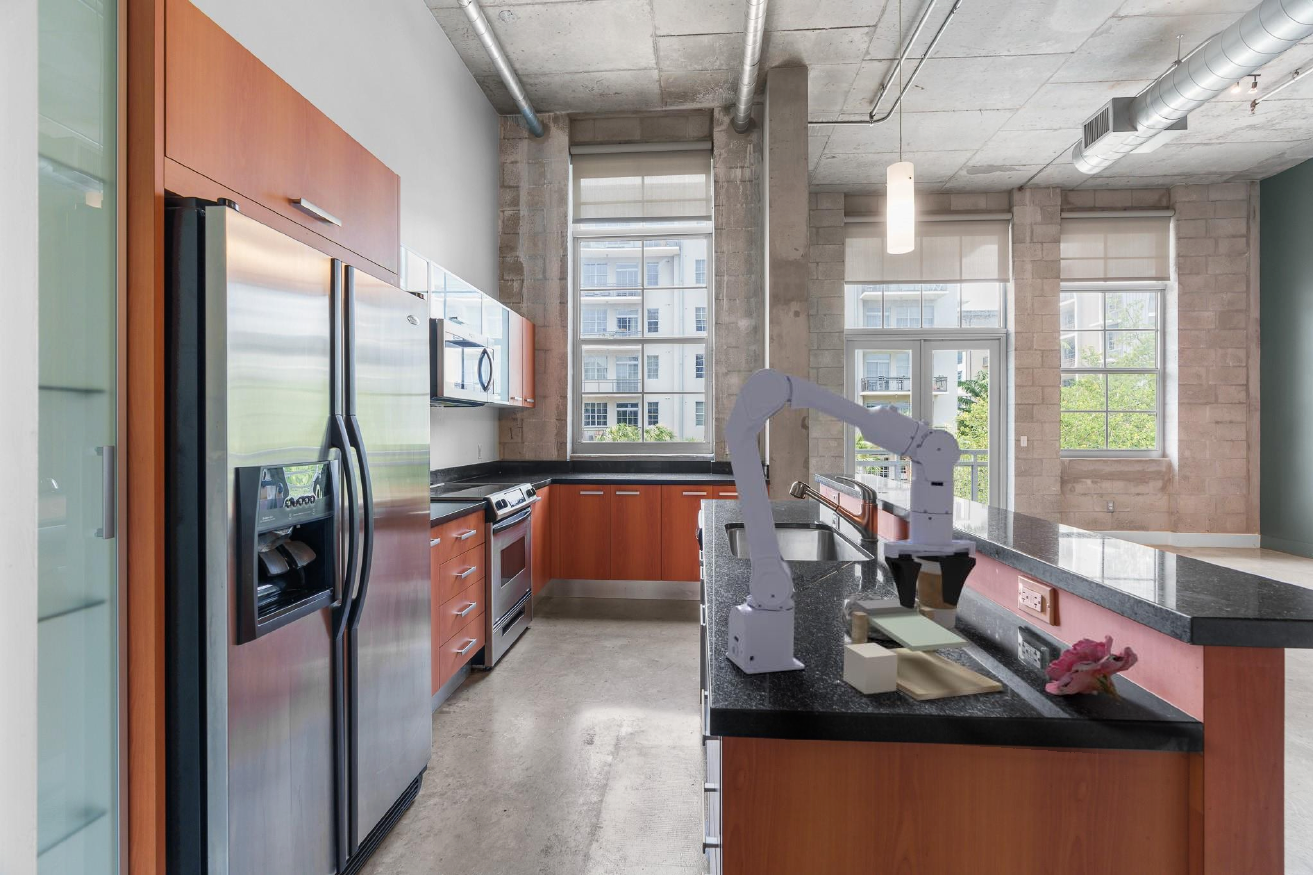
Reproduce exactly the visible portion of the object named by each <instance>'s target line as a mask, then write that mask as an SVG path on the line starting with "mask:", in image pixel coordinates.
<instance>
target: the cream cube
mask: <svg viewBox="0 0 1313 875" xmlns="http://www.w3.org/2000/svg"><path fill="white" fill-rule="evenodd" d="M843 646H844V647H843V651H844V653H843V678H842V679H843V681H844V682H845V683H848V684H849V685H851V686H852V687H853V688H855V689H857V690H858V691H859V692H861V693H863V694H864V695H869V694H878V693H887V692H895V691H897V688H896V685H897V654H895V653H893V652H891V651H889V650H887V649H888V648H886V647H884V646H881V645H880V644H877V643H875V642H867V643H866V644H854V645H851V644H844V645H843Z"/></svg>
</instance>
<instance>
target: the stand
mask: <svg viewBox="0 0 1313 875" xmlns="http://www.w3.org/2000/svg"><path fill="white" fill-rule="evenodd" d="M919 614H921V615H923V616H924V617H926V618H928V619H929V620H931V621H933V622H934V610H933V609H930V608H928V607H925V608H919ZM867 621H868V615H867V614H865V613H863V612H852V634H851V644H850V645H854V644H866V643H868V638H867ZM886 649H887V650H889V651H891V652H893V653H895V654H897V685H896V689H898V690H900V691H901V692H903V693H905V695H906V694H907V695H908V696H910V697H911V698H913V699H915V700H916V701H924V700H925V701H926V700H933V699H942V698H943V699H944V698H949V697H951V698H952V697H957V696H968V695H974V694H982V693H992V692H1000V691H1001V692H1002V691H1003V684H1001V683H1000V682H998V681H995V680H993V679H991V678H989V677H986V676H985V675H982V674H981V673H978V672H976V671H974V670H972V669H971V668H967V667H965V666H963V665H962V664H959V663H957V662H954V661H953V660H951V659H948V658H946V657H944V656H942V655H940V654H938V653H936V652H934V650H926V651H915V652H912V651H910V650H909V649H907V648H906V647H901V648H899V647H898V648H897V647H896V648H886Z"/></svg>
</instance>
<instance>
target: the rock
mask: <svg viewBox="0 0 1313 875" xmlns="http://www.w3.org/2000/svg"><path fill="white" fill-rule="evenodd" d="M891 599H899V597H895V598H893V597H892V598H891ZM869 600H886V599H885V598H881V597H871V596H869V595H867V594H856V595H852V596H851V597H850V598H849V601H846V603H845V606H844V610H843V611H842V616H841V625H842V628H843V629H845V630H847V631H848V632H849V634H850V635H852V612H855V603H856V601H869ZM915 604H916V605H918V606H917V613H919V608H921V605H920V604H919V600H916V599H915ZM872 638H873V639H878V640H881V641H887V640H891V641H895V640H894V639H892V638H891V637H890V636H888V635H887V634H885V633H884V632H882V631H881V630H879V629H878V628H876V627H867V639H872Z"/></svg>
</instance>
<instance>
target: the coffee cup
mask: <svg viewBox="0 0 1313 875" xmlns="http://www.w3.org/2000/svg"><path fill="white" fill-rule="evenodd" d="M914 557H915V558H916V559H917V560H916V562H919V563H922V567H921V569H920V572H919V575H918V579H917V593H918V601H919V604H920V605H921V608H925V607H928V608H930V609H933V610H934V622H935V623H936V624H938V625H940V626H941V627H943V628H945V629H947V630H951V629H954V628H955V627H956V626H955V624H956V618H957V609H958V605H957V606H952V605H950V604H947V603H944V602H943V597H942V575H941V568H940V564H939V560H938V557H937V555H932V556H914Z"/></svg>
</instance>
